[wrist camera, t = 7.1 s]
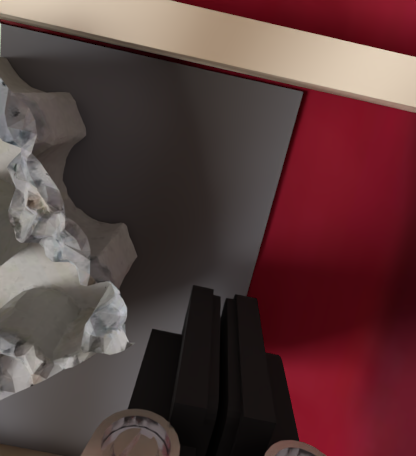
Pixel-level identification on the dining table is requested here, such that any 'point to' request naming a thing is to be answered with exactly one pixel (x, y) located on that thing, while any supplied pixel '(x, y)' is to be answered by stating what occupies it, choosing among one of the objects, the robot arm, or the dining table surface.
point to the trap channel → (170, 164)
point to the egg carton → (51, 245)
